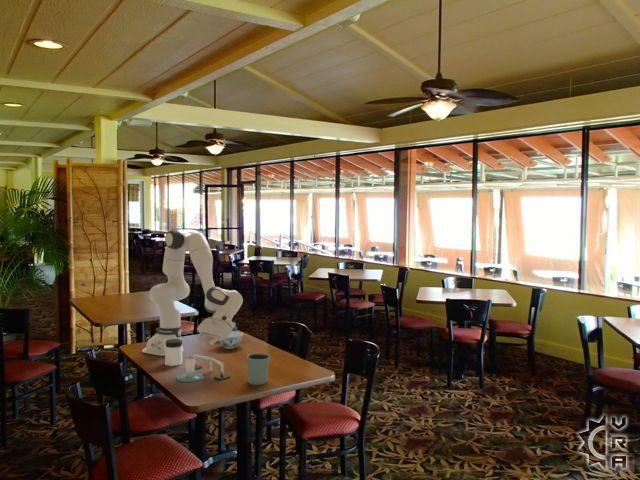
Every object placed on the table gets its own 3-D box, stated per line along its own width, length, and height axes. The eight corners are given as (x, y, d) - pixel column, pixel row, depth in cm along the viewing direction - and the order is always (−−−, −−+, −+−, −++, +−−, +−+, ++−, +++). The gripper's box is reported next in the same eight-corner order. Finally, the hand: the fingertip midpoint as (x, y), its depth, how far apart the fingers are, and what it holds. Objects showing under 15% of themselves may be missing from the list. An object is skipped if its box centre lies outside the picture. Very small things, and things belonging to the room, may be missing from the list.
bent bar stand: (185, 368, 251) (185, 354, 250) (195, 366, 255) (195, 352, 255) (220, 380, 233) (220, 365, 233) (230, 377, 238) (230, 362, 237)
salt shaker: (184, 377, 235) (184, 358, 235) (188, 375, 239) (188, 356, 238) (191, 378, 234) (191, 359, 234) (196, 375, 238) (196, 357, 237)
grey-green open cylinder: (243, 380, 233) (243, 355, 233) (262, 376, 239) (262, 351, 239) (253, 386, 225) (254, 360, 225) (273, 382, 231) (273, 356, 231)
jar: (167, 361, 263) (167, 338, 262) (183, 361, 264) (183, 338, 263) (163, 366, 254) (163, 343, 253) (180, 366, 255) (180, 342, 254)
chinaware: (247, 348, 290) (247, 335, 289) (222, 352, 282) (222, 338, 281) (236, 342, 302) (236, 329, 302) (213, 345, 294) (213, 332, 294)
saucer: (172, 380, 232) (172, 379, 232) (185, 373, 244) (185, 371, 244) (195, 383, 229) (195, 381, 229) (207, 375, 241) (207, 374, 241)
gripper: (204, 312, 254) (188, 335, 247) (230, 318, 241) (213, 342, 234) (211, 320, 258) (195, 342, 251) (237, 326, 245) (221, 350, 238)
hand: (204, 342), depth 242 cm, fingers open, 8 cm apart
